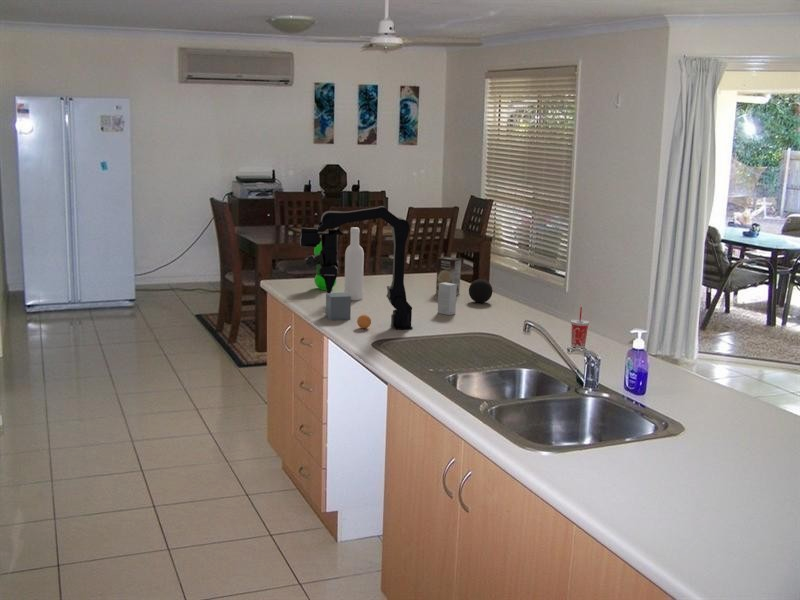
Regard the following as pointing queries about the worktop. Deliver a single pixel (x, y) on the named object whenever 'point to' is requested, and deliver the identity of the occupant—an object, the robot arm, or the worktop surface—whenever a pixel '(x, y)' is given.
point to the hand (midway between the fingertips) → (329, 290)
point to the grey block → (338, 306)
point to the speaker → (480, 291)
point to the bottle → (354, 267)
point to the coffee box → (448, 272)
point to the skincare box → (447, 298)
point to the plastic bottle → (318, 279)
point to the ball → (364, 321)
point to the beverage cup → (579, 332)
